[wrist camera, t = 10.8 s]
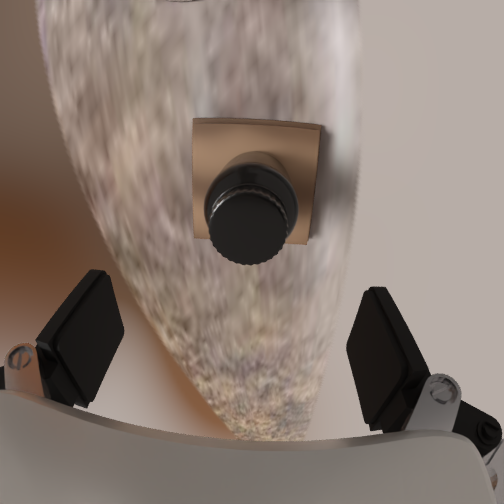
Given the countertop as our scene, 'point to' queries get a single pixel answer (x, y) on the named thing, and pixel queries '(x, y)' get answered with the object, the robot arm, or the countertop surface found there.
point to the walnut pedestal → (261, 140)
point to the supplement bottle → (251, 208)
